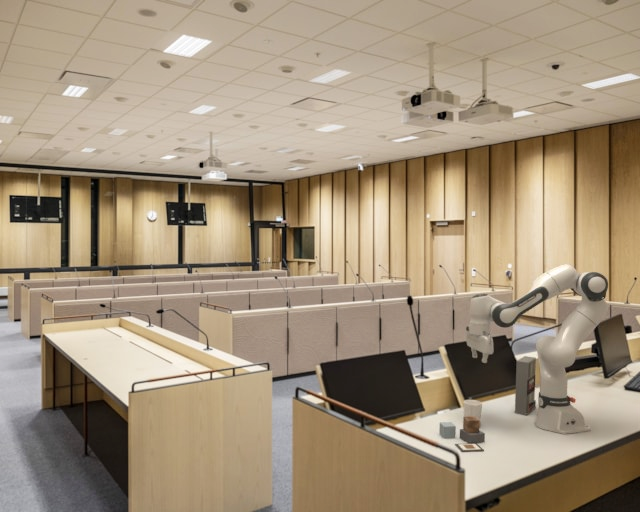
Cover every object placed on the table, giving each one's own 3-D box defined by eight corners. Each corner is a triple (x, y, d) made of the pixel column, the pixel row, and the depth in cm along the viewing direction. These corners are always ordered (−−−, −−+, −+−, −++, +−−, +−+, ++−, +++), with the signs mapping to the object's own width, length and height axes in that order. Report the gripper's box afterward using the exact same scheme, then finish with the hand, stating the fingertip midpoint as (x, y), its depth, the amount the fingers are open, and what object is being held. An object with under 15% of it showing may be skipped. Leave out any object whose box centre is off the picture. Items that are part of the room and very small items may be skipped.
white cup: (468, 428, 228) (469, 405, 227) (459, 422, 235) (460, 400, 235) (484, 427, 230) (485, 404, 229) (474, 420, 237) (475, 399, 237)
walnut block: (475, 428, 217) (475, 416, 217) (479, 432, 212) (479, 420, 212) (463, 428, 217) (463, 416, 217) (467, 432, 212) (467, 420, 212)
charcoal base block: (473, 436, 219) (473, 427, 219) (484, 443, 212) (484, 433, 212) (459, 438, 216) (459, 429, 216) (470, 445, 210) (470, 435, 210)
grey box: (527, 416, 245) (529, 363, 244) (514, 413, 249) (516, 360, 248) (536, 408, 256) (537, 357, 256) (523, 406, 260) (524, 356, 259)
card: (476, 444, 210) (476, 442, 210) (484, 451, 203) (484, 449, 203) (454, 444, 209) (454, 443, 209) (461, 452, 202) (461, 450, 202)
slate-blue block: (450, 433, 221) (451, 422, 221) (455, 438, 216) (455, 426, 216) (439, 434, 221) (439, 422, 220) (443, 438, 216) (444, 426, 215)
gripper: (497, 333, 227) (497, 365, 228) (476, 325, 248) (476, 355, 248) (483, 334, 226) (483, 365, 227) (463, 326, 247) (463, 355, 247)
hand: (479, 360), depth 238 cm, fingers open, 8 cm apart
